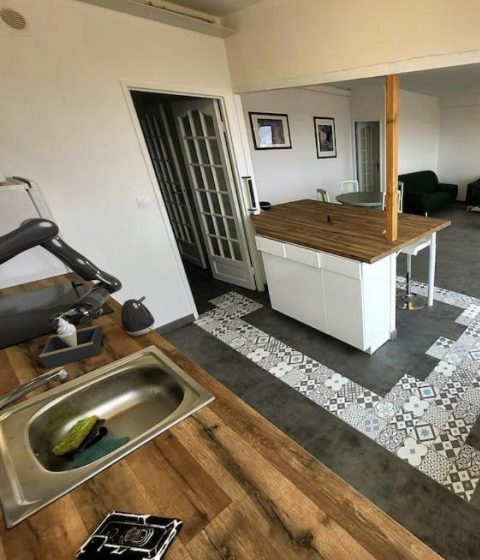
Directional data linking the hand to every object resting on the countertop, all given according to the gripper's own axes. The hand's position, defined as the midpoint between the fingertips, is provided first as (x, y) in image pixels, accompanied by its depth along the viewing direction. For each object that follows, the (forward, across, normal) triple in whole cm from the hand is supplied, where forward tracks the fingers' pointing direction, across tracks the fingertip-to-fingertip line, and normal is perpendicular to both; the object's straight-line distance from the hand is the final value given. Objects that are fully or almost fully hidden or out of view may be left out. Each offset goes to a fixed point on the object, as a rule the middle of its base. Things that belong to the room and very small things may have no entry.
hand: (66, 325), depth 112 cm
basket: (+2, 0, +10) cm, 11 cm away
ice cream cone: (+2, 0, +11) cm, 11 cm away
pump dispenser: (-6, +19, +11) cm, 22 cm away
